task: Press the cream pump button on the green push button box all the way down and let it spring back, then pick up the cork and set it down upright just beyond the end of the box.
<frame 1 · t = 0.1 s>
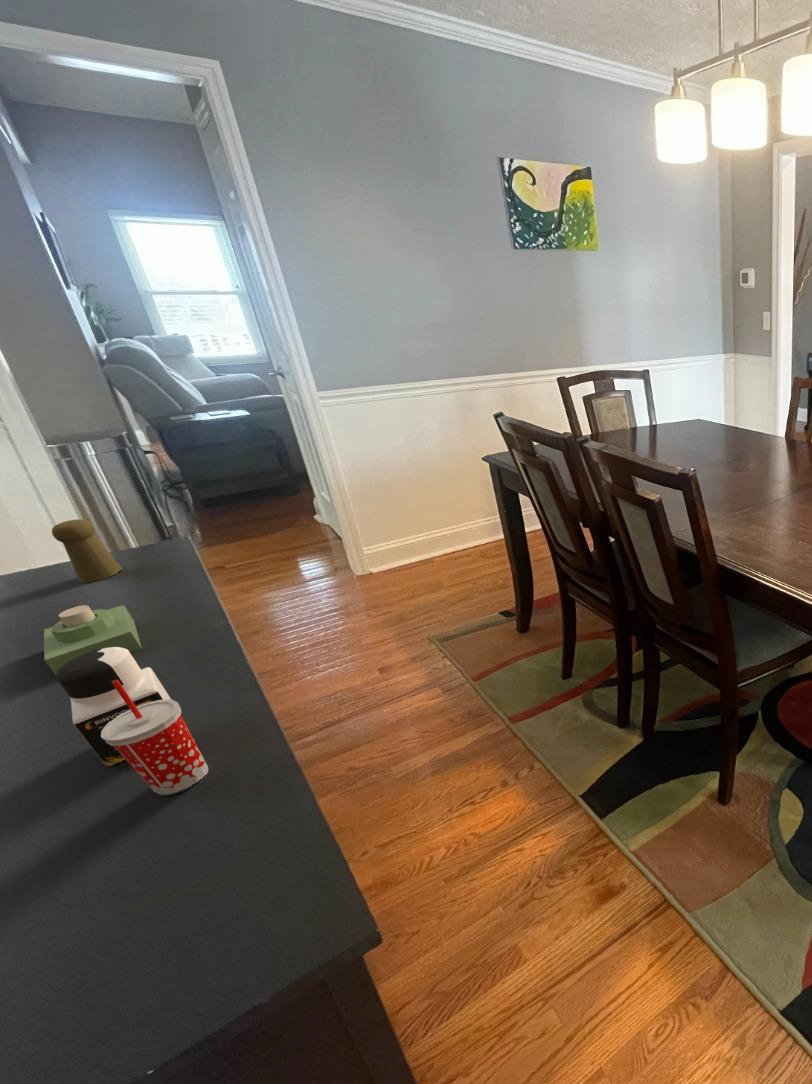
green push button box: (98, 647, 91), on the table
medicine bottle: (145, 738, 73), on the table
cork: (101, 575, 113), on the table
beverage cup: (183, 781, 66), on the table
pump: (77, 616, 88), point 6 cm above the table, slide at 0.1 cm
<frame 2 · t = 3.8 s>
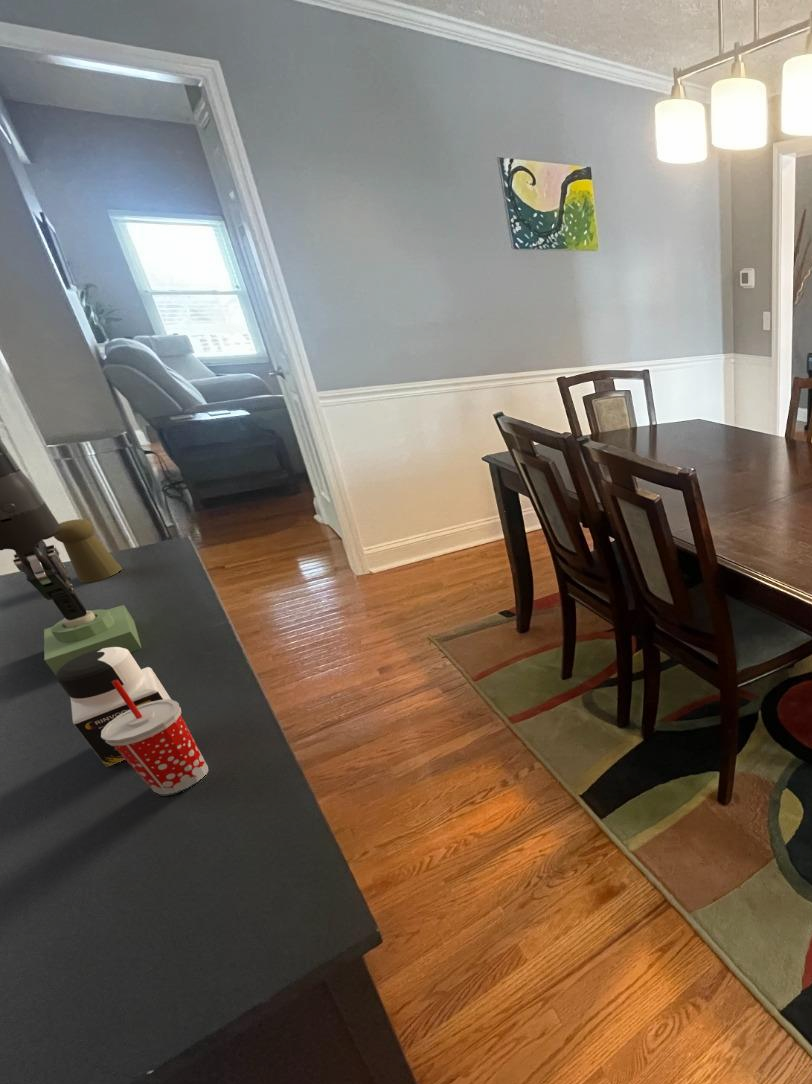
hand: (77, 616, 88), 6 cm above the table, tool pointing down, fingers closed
pump: (81, 622, 89), point 5 cm above the table, slide at -0.8 cm, touching gripper
everything else where it was.
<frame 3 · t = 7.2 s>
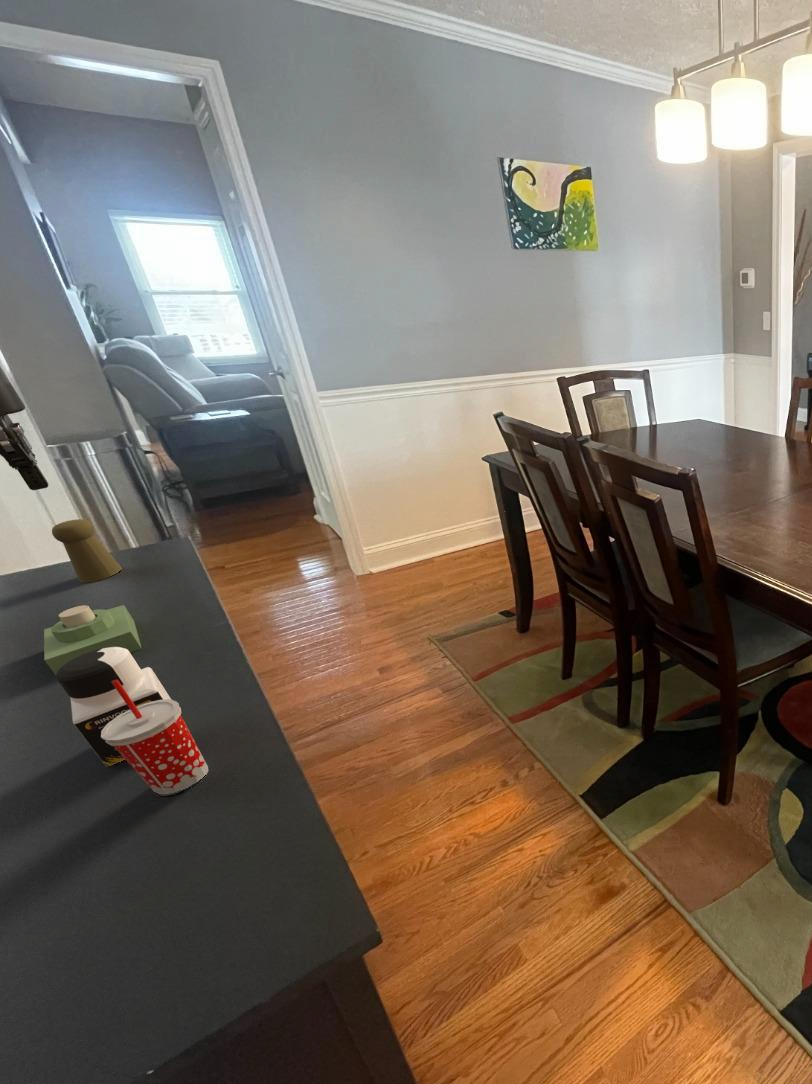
hand: (40, 488, 101), 19 cm above the table, tool pointing down, fingers closed
pump: (77, 616, 88), point 6 cm above the table, slide at 0.1 cm
everything else where it was.
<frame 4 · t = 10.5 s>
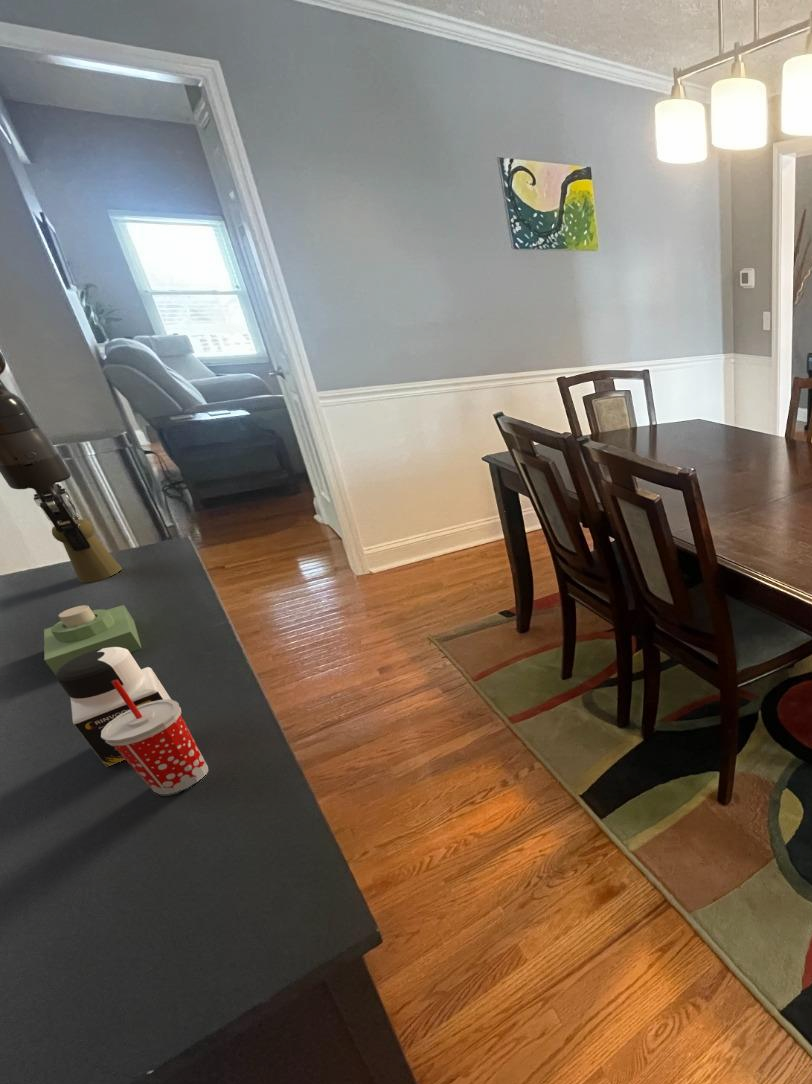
hand: (82, 544, 110), 6 cm above the table, tool pointing down, fingers closed on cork, 5 cm apart
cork: (101, 575, 113), on the table, touching gripper
everything else where it was.
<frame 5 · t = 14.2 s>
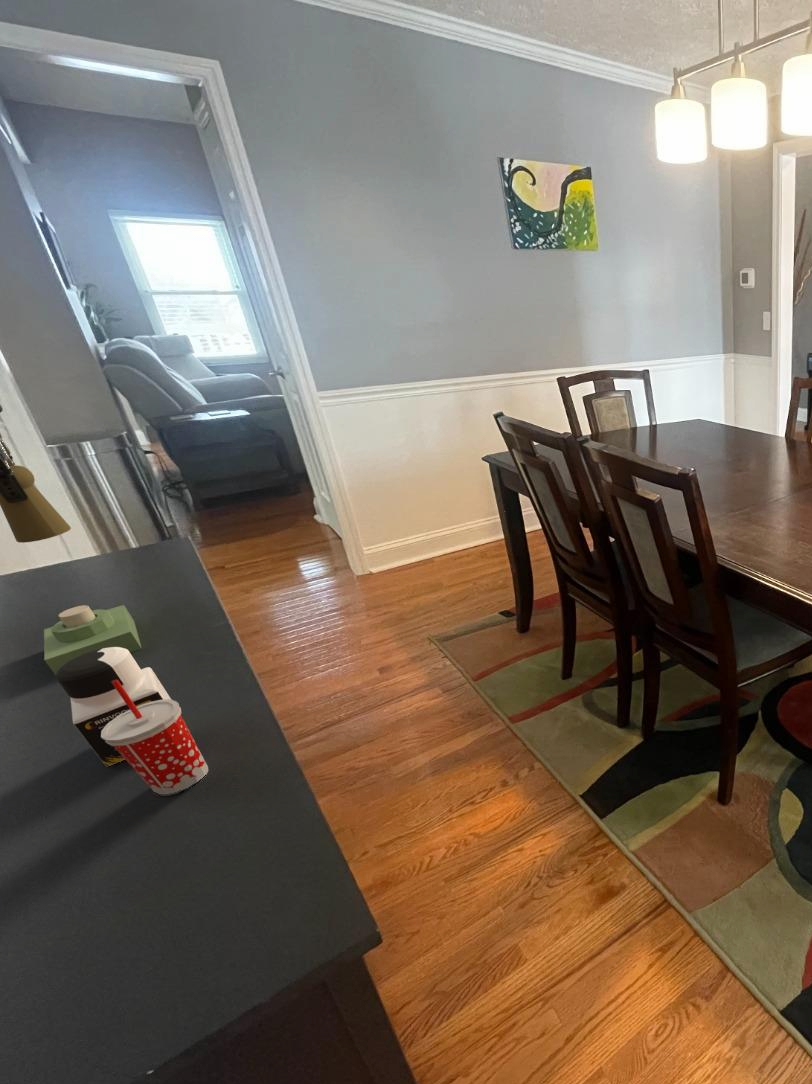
hand: (18, 496, 91), 21 cm above the table, tool pointing down, fingers closed on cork, 5 cm apart
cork: (45, 535, 94), point 14 cm above the table, touching gripper
everything else where it was.
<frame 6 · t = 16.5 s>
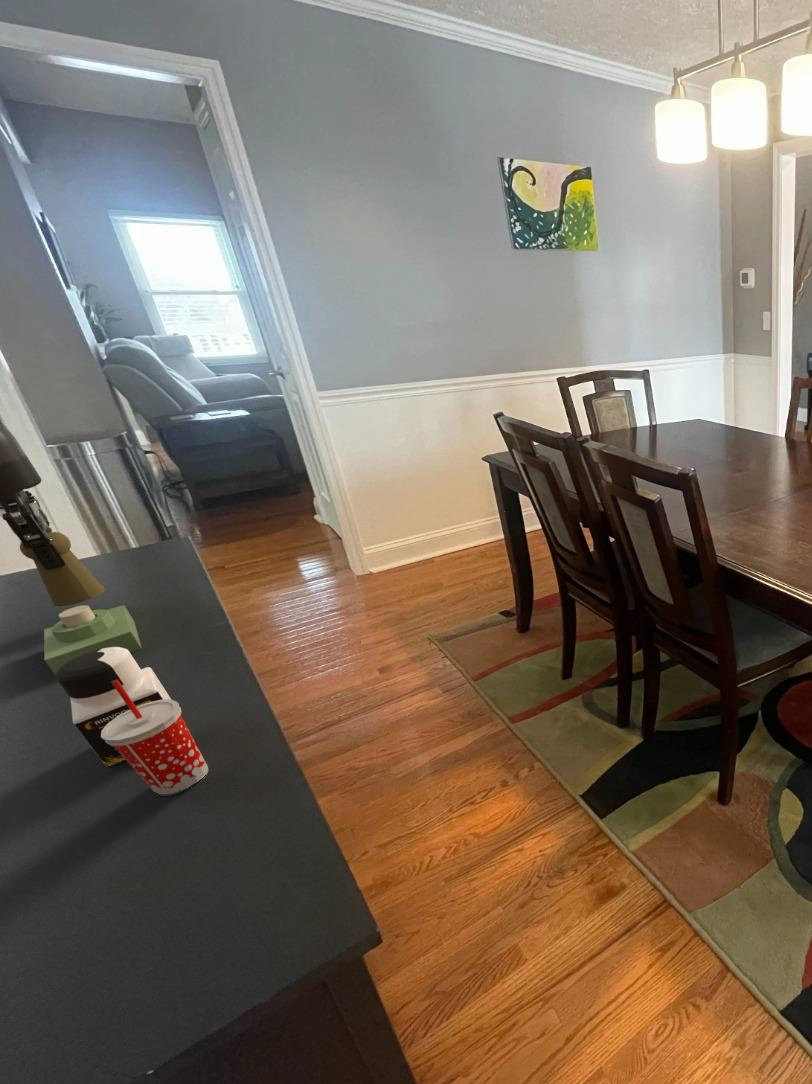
hand: (55, 561, 94), 11 cm above the table, tool pointing down, fingers closed on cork, 5 cm apart
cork: (80, 597, 97), point 4 cm above the table, touching gripper
everything else where it was.
when the fingers open (6 cm above the table, at t = 18.1 s): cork stays where it is, on the table.
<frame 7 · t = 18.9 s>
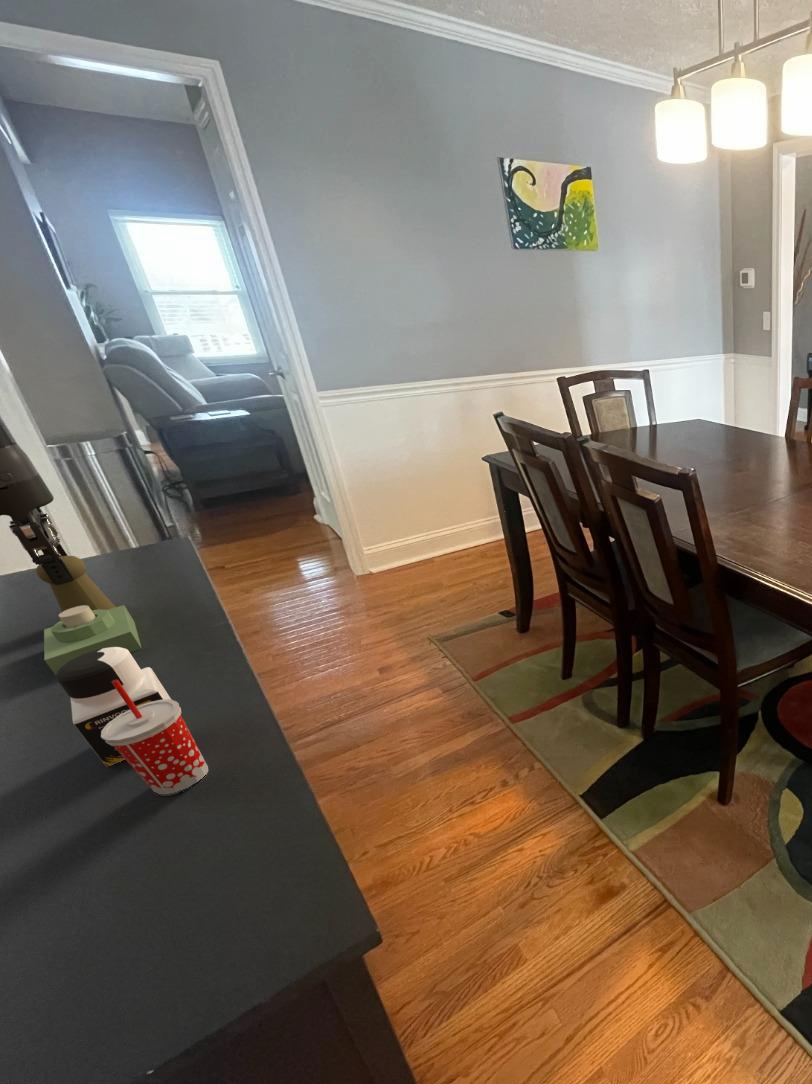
hand: (64, 574, 95), 8 cm above the table, tool pointing down, fingers open, 8 cm apart
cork: (94, 619, 99), on the table
everything else where it was.
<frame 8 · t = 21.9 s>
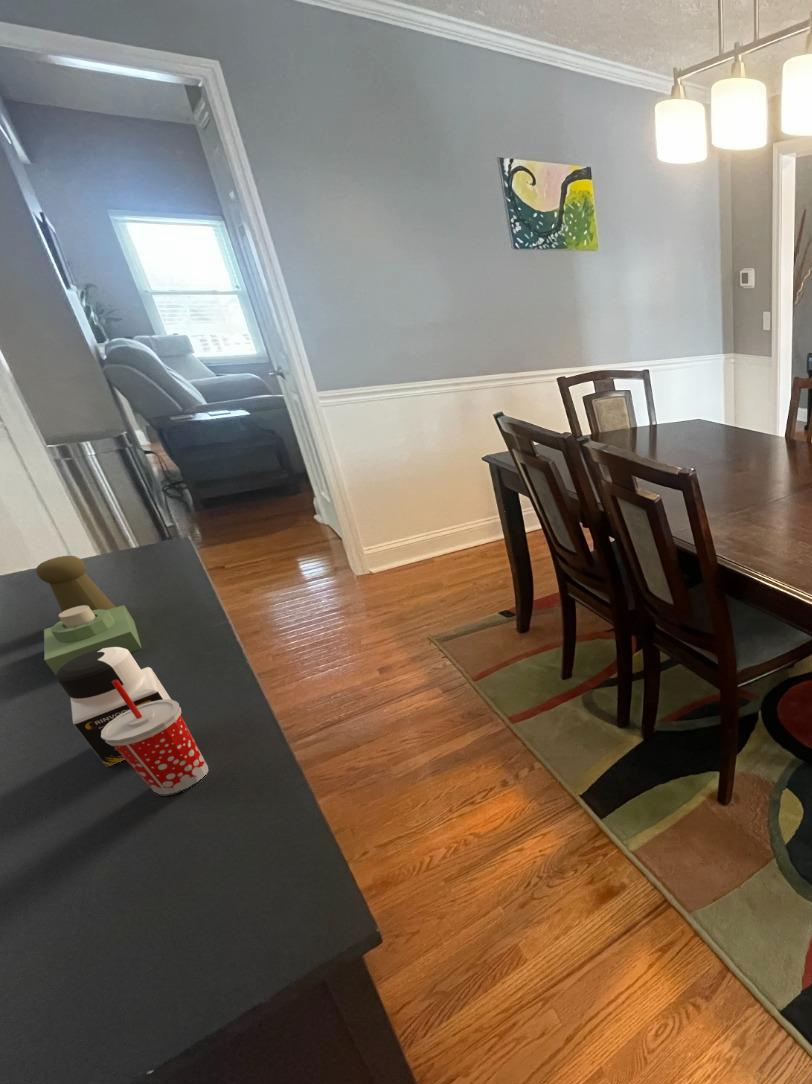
nothing on the table moved.
at the end: pump pushed in 1.1 cm at the most during the clip, back to where it started at the end; pump slide at 0.1 cm; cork 0.1 cm from the target spot on the table beside the green push button box, on the table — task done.
